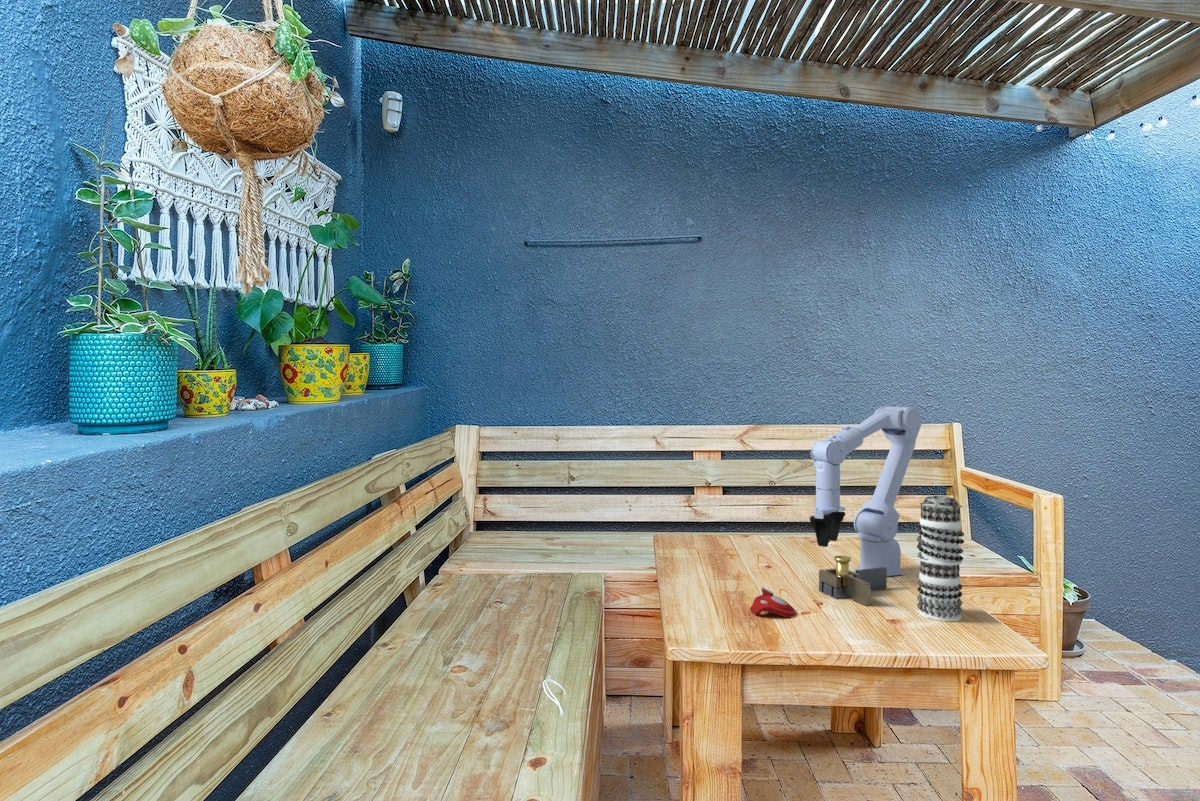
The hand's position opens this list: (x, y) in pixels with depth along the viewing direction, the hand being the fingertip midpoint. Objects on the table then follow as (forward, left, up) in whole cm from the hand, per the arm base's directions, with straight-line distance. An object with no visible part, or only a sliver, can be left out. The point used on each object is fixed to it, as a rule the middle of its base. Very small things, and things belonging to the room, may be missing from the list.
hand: (827, 543), depth 179 cm
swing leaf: (+4, +13, -9) cm, 17 cm away
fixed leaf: (-1, +10, -9) cm, 14 cm away
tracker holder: (+25, +15, -10) cm, 31 cm away
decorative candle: (-6, +30, -10) cm, 32 cm away
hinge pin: (+4, +11, -9) cm, 15 cm away
